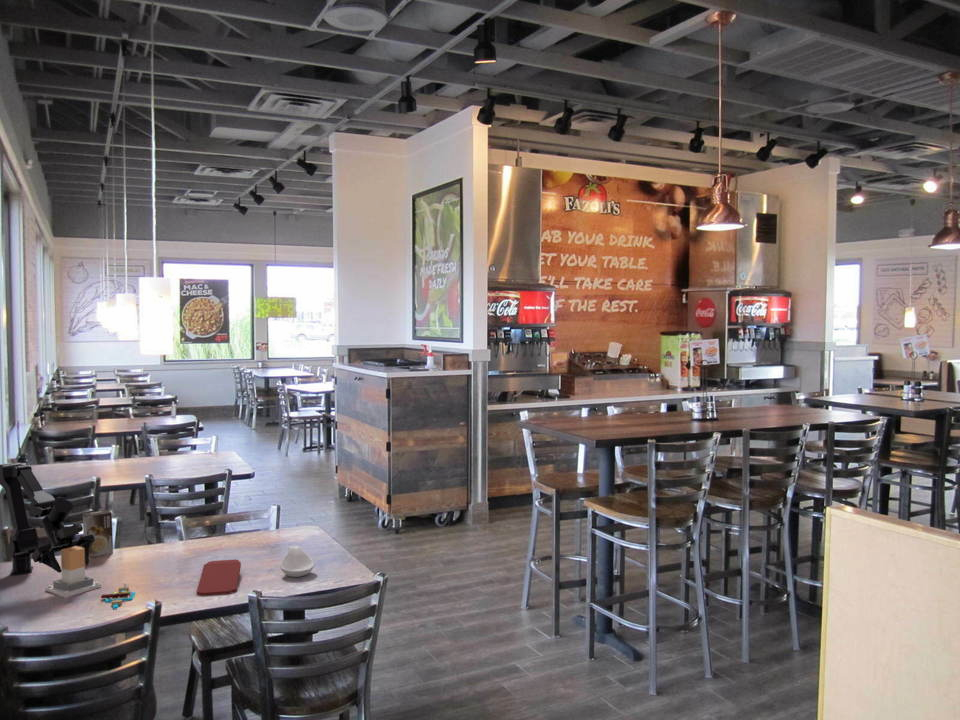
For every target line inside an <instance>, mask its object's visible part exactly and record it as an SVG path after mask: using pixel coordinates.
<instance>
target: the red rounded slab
mask: <svg viewBox="0 0 960 720" xmlns="http://www.w3.org/2000/svg"><path fill="white" fill-rule="evenodd" d="M241 567H242V562H241V561H240V560H239V559H224V560H211V561H208V562H207V563H205V564H203V567H202V571H201V574H200V579H199V582H198V585H197V589H196V596H216V595H227V594H228V595H229V594H232V593H237V590H238V586H239V585H238V584H239V579H240V573H241Z"/></svg>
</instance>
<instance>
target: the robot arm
mask: <svg viewBox="0 0 960 720" xmlns="http://www.w3.org/2000/svg"><path fill="white" fill-rule="evenodd" d="M0 486H1V487H2V488H3V489H4V490H5V495H6V499H7V504H8V508H9V509H8V510H9V513H10V519H11V520H10V521H11V525H12V529H11V533H10V535H9V543H8V545H7V546H6V548H5V550H4V553H5V557H7V558H10V559H12V560H11V566H12V569H11V571H10V573H9V574H10V575H11V576H12V575H13V576H14V575H22V574H29V573H32V571H33V569H34V566H32V561H33V562H34V563H39V564H43V565H45V566H48V567H49V568H51V569H53V570H54V571H55V572H57V573H59V574H62V570H61V566H60V564H59V562H58V560H57V558H56V556H55V553H57V552H61V550H62V549H66V548H70V547H74V546H78V547H82V548H84V552H85V565H86V566H89V564H90V557H89V548H90V547H91V545H92V544H93V542H94V541H95V537H94V535H92V534H88V535H84V536H83V535H81V536H80V537H79V538H78V540H76V541H73V540H75V539H76V536H77V535H79V534H80V533H81V532H83V524H82V523H81V522H80V521H79V522H75V523H74V524H72V525H69V526H65V524H64V522H65V521H66V520H67V518H68V517H69V515H70V513H71V511H73V508H74V505H73V503H72V502H70V500H68V499H65V498H64V497H62V496H59V497H58V496H57V497H54V496H53V495H52V494H50V493H47V492H46V491H45V490H44V489H43V487H42V485H41V484H40V482H39V480H38V479H37V477H36V476H35V474H34V472H33V469H32V466H31V465H30V464H22V463H20V462H19V461H17V462H10V463H3V464H0ZM22 489H23V490H22ZM23 491H24V492H25V494H26V496H27V498H28V499H29V501H30V503H29V509H30V513H31V515H32V516H33V518H35V519H36V518H38V519H39V518H43V519H42V520H41V522H40V524H39V528H40V529H43V530H44V531H45V533H46V536H47V538H46V541H47V542H48V543H46V544H41V545H39V544H40V540H39V536H38V533H37V532H38V531H37V528H36V527H32V526H31V525H30V524H29V518H28V513H27V509H26V504H25V500H24V499H25V498H24V494H23Z"/></svg>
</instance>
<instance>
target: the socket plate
mask: <svg viewBox="0 0 960 720" xmlns="http://www.w3.org/2000/svg"><path fill="white" fill-rule="evenodd" d="M52 583H53V584H49V585H47V586H46V587H45V588H44V589H45V590H44V591H45V592H48V593H51V594H54V595H57V596H60V597H63V598H68V597H72V596H75V595H79V594H81V593H85V592H89V591H91V590H95V589H98V588H101V587H102V583H100V582H99V581H94V577H93V578H92V577H91V576H87V575H85V580H83V581H80V582H77V583H73V584H70V585H68V584H65V583H62V578H60V579H56V580H53V581H52Z"/></svg>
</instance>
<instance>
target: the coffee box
mask: <svg viewBox="0 0 960 720" xmlns="http://www.w3.org/2000/svg"><path fill="white" fill-rule="evenodd" d="M112 515H113V514H112V512H111V511H110V510H108V509H106V510H99V511H91V512H85V513H82V527H83V531H82V532H83V533H82V534H83V535H82V536H84V535H88V534H92V535H94V537H95V541H94V542H93V544H92V545H91V547H90V548H89V558H94V557H99V556H100V557H101V556H105V555H111V554H114V544H113V543H114V542H113V517H112Z"/></svg>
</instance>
